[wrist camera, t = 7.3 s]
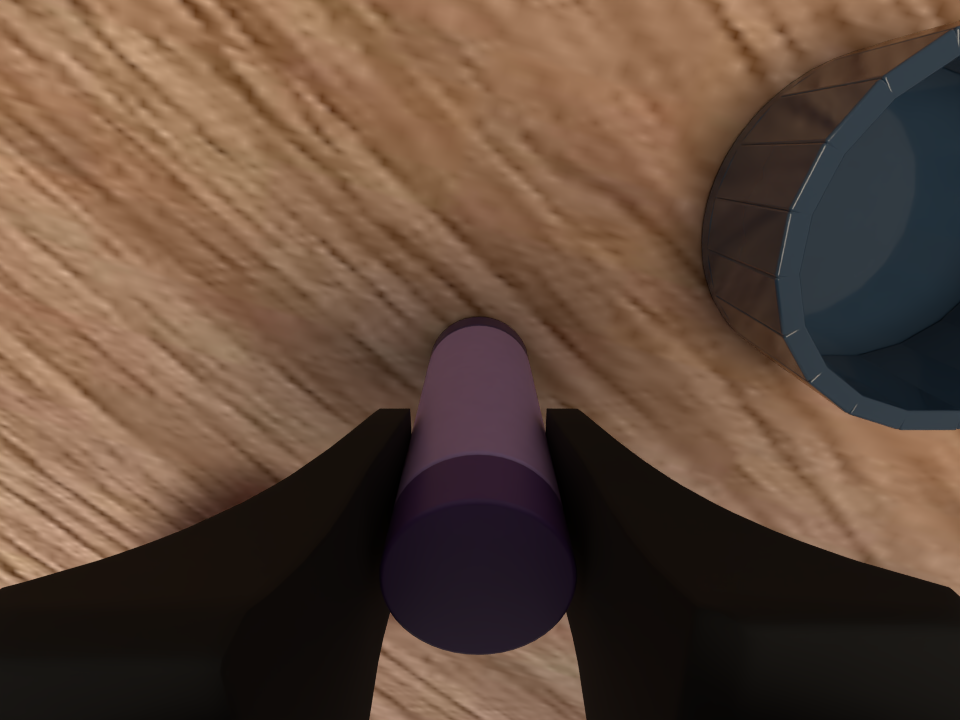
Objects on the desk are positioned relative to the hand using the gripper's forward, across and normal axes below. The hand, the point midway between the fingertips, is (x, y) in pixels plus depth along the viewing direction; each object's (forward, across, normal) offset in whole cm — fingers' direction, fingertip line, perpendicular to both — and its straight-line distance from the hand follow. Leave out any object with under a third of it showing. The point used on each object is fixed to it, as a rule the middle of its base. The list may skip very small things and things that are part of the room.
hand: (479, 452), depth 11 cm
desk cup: (+5, -10, -4) cm, 12 cm away
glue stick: (+5, 0, 0) cm, 5 cm away
